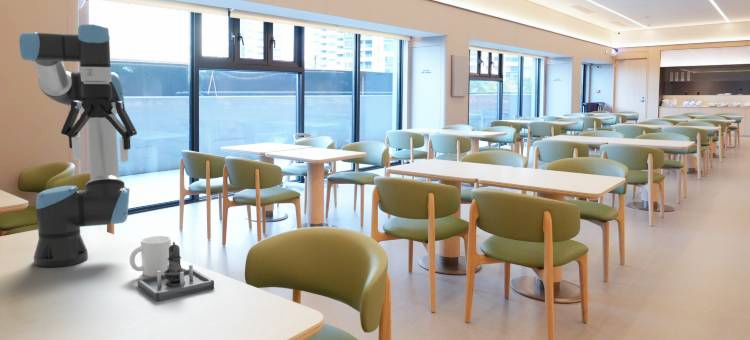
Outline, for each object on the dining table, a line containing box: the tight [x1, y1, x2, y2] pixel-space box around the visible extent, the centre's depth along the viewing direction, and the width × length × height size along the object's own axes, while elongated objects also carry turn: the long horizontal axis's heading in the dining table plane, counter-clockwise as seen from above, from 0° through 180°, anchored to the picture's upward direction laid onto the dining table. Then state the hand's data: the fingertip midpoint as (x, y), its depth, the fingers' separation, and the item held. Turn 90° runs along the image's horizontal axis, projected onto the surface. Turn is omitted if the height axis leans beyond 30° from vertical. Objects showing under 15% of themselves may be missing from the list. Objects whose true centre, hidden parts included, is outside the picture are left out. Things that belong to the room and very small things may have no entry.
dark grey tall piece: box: [164, 241, 187, 287], centre depth 162 cm, size 6×6×12 cm
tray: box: [136, 264, 215, 303], centre depth 163 cm, size 14×16×6 cm
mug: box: [129, 235, 172, 278], centre depth 174 cm, size 12×8×10 cm
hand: (100, 161), depth 163 cm, fingers open, 13 cm apart
